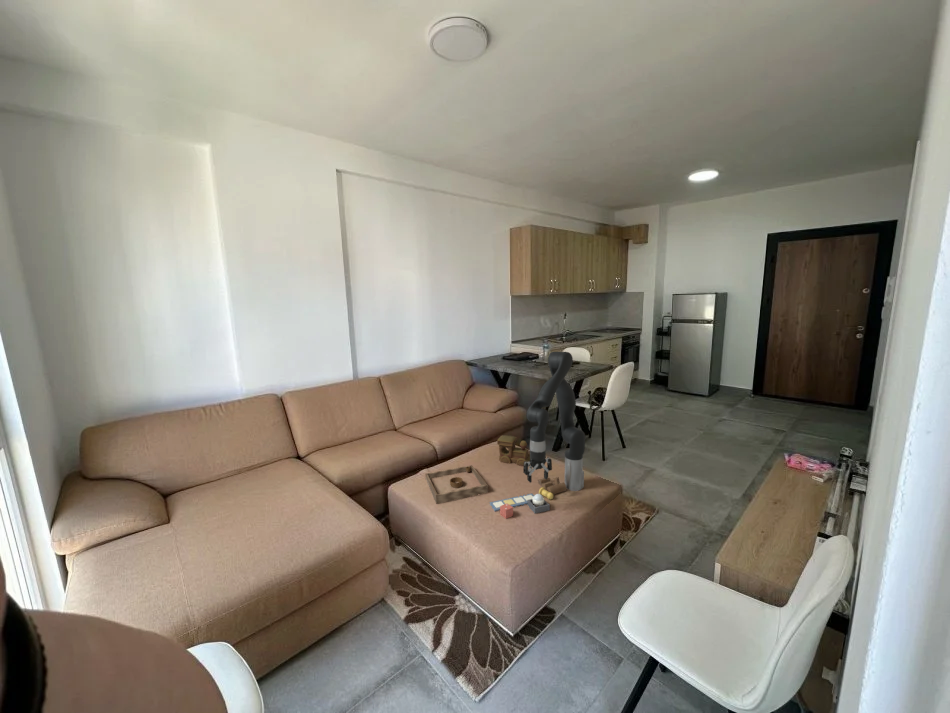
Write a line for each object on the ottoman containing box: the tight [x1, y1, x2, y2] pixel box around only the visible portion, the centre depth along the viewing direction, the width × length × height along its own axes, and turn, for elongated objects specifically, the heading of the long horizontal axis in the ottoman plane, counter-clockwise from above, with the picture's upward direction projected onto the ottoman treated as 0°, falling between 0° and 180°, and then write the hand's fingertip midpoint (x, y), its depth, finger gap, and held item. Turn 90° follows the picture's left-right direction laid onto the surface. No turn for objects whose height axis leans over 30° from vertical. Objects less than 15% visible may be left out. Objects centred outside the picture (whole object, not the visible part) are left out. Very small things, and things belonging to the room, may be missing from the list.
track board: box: [489, 492, 535, 512], centre depth 190 cm, size 24×8×1 cm, turn 109°
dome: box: [533, 493, 545, 507], centre depth 185 cm, size 6×6×5 cm
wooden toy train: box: [496, 434, 530, 467], centre depth 233 cm, size 20×11×17 cm, turn 66°
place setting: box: [449, 467, 471, 492], centre depth 210 cm, size 18×20×6 cm
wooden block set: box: [537, 476, 568, 496], centre depth 201 cm, size 18×9×10 cm
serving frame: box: [424, 465, 489, 505], centre depth 207 cm, size 28×26×5 cm
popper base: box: [527, 499, 551, 514], centre depth 185 cm, size 8×8×3 cm
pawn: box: [538, 486, 554, 500], centre depth 194 cm, size 4×4×7 cm
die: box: [499, 504, 514, 520], centre depth 180 cm, size 4×4×4 cm
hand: (537, 480), depth 184 cm, fingers open, 8 cm apart
